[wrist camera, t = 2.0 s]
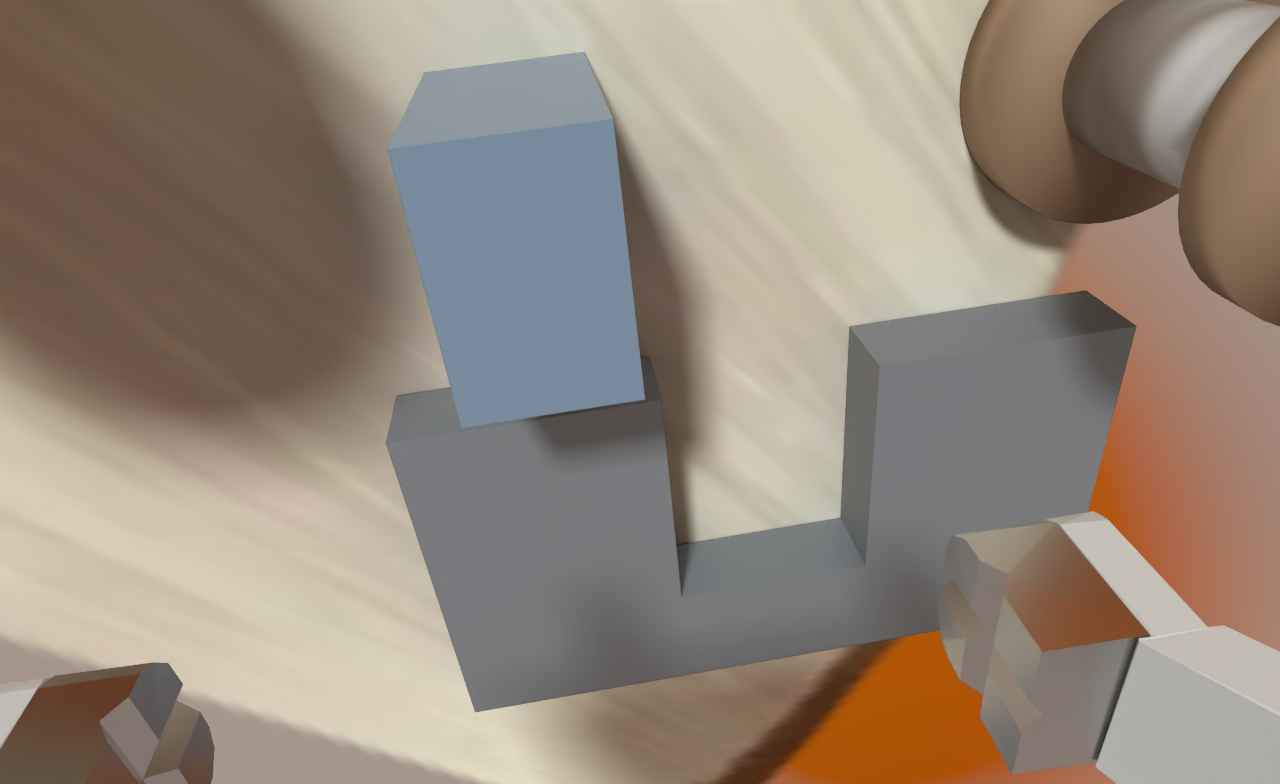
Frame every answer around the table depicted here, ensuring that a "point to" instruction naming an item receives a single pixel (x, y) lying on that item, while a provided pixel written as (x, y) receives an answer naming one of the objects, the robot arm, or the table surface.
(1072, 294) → the notched board
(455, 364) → the blue-gray rectangular block
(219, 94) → the table surface
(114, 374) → the table surface
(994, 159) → the bobbin post
